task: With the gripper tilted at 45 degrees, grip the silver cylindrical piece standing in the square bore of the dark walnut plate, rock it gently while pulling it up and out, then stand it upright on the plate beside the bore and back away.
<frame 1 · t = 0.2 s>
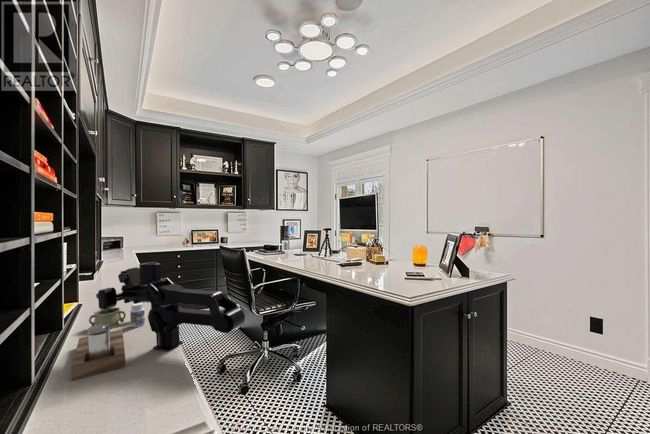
hand: (109, 291, 109), 17 cm above the countertop, tool horizontal, fingers open, 9 cm apart
silver cylindrical piece: (99, 345, 90), in the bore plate
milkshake: (141, 319, 130), on the countertop
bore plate: (100, 364, 90), on the countertop
pill bottle: (137, 325, 123), on the countertop
vessel: (108, 326, 122), on the countertop
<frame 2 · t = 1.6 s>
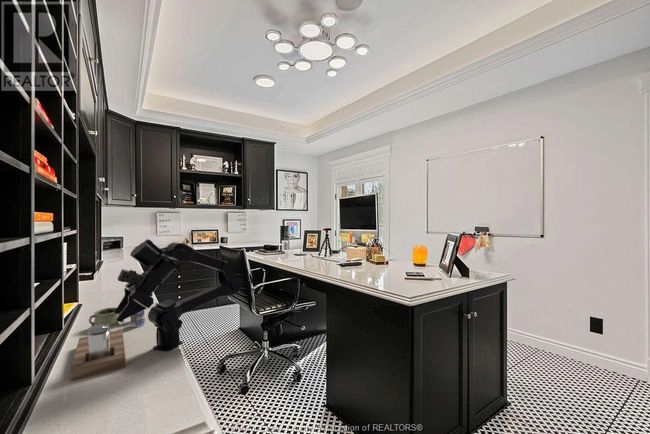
hand: (116, 316, 93), 13 cm above the countertop, tool tilted 45°, fingers open, 9 cm apart
nothing on the countertop moved.
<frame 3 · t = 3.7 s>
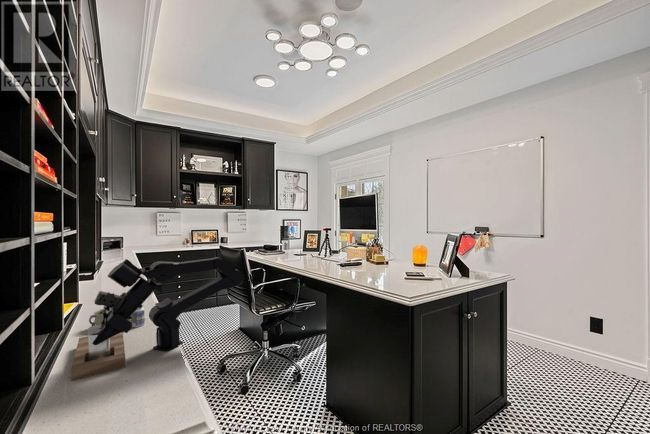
hand: (93, 341, 89), 7 cm above the countertop, tool tilted 45°, fingers closed on silver cylindrical piece, 5 cm apart
silver cylindrical piece: (99, 345, 90), in the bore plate, touching gripper
everything else where it was.
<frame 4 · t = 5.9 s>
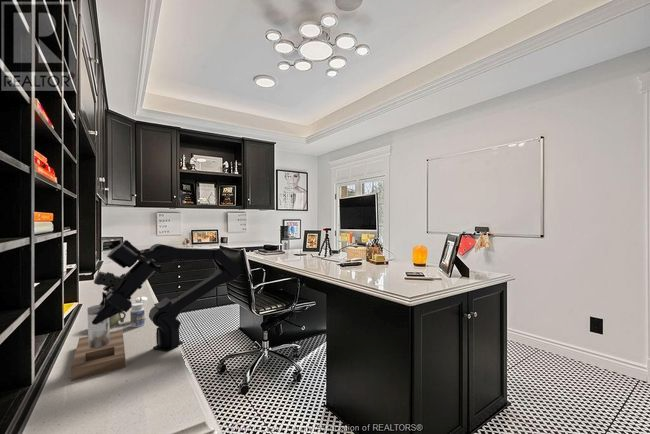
hand: (92, 321, 89), 13 cm above the countertop, tool tilted 45°, fingers closed on silver cylindrical piece, 5 cm apart
silver cylindrical piece: (98, 325, 90), point 11 cm above the countertop, touching gripper
everything else where it was.
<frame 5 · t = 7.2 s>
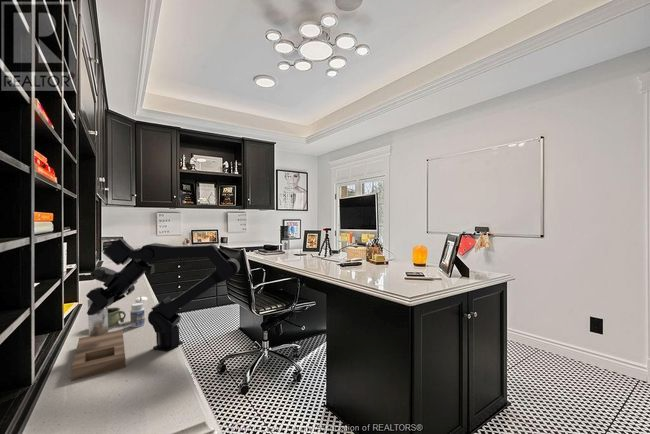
hand: (93, 311, 98), 13 cm above the countertop, tool tilted 45°, fingers closed on silver cylindrical piece, 5 cm apart
silver cylindrical piece: (98, 316, 99), point 11 cm above the countertop, touching gripper
everything else where it was.
when the fingers open (11 cm above the countertop, at t = 8.2 s): silver cylindrical piece drops 1 cm, resting on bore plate.
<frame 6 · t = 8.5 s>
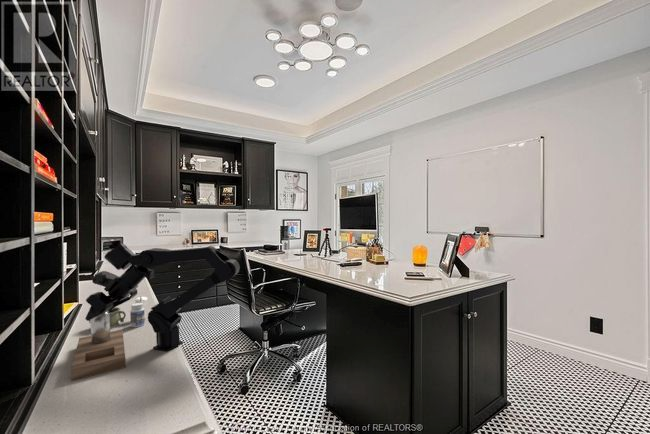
hand: (95, 315, 100), 11 cm above the countertop, tool tilted 45°, fingers open, 8 cm apart
silver cylindrical piece: (100, 323, 100), on the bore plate, point 8 cm above the countertop
everything else where it was.
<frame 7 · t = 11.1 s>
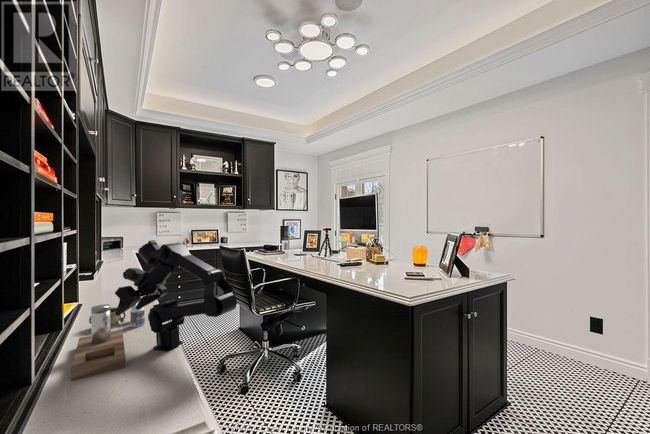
hand: (127, 311, 102), 12 cm above the countertop, tool tilted 40°, fingers open, 9 cm apart
nothing on the countertop moved.
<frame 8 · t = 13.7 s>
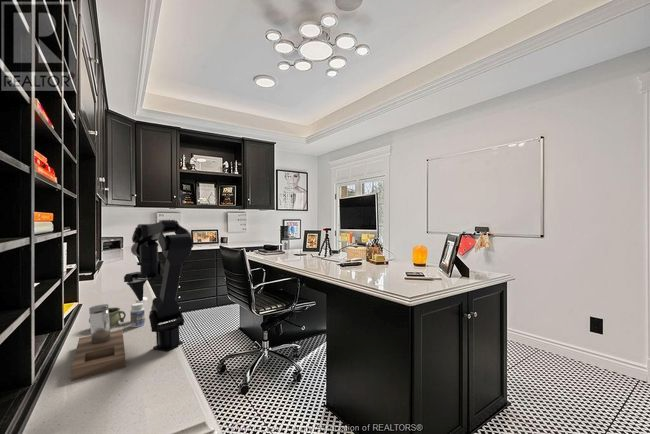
hand: (150, 301, 112), 12 cm above the countertop, tool pointing down, fingers open, 9 cm apart
nothing on the countertop moved.
at the end: silver cylindrical piece 0.1 cm from the target spot on the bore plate, point 8.6 cm above the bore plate's base; silver cylindrical piece tilted 2°; the gripper is holding nothing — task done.
